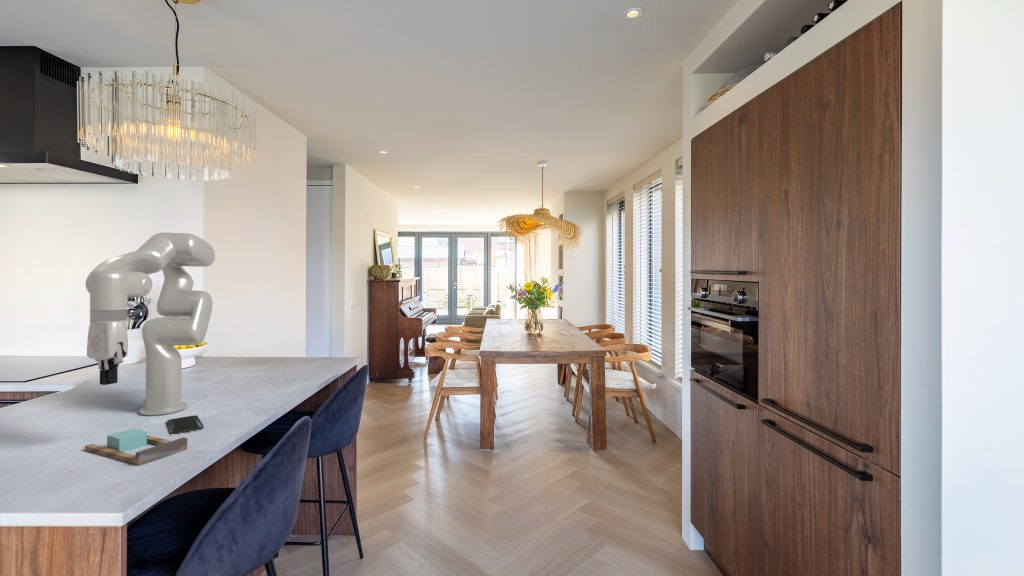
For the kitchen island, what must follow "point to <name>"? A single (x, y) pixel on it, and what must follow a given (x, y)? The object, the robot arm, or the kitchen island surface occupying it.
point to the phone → (184, 424)
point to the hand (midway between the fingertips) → (108, 383)
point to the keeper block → (127, 440)
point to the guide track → (145, 455)
